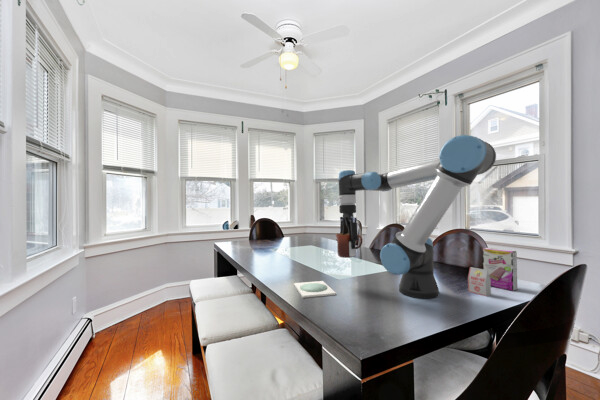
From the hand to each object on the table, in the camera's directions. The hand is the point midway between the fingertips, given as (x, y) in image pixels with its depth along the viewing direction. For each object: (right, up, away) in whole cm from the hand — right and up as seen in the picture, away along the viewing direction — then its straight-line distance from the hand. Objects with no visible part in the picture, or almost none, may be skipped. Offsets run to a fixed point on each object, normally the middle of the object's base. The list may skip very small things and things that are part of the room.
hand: (348, 254), depth 121 cm
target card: (-16, -14, -5) cm, 22 cm away
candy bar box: (+65, -13, -6) cm, 66 cm away
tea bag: (+51, -13, -13) cm, 54 cm away
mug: (0, -1, -1) cm, 1 cm away
